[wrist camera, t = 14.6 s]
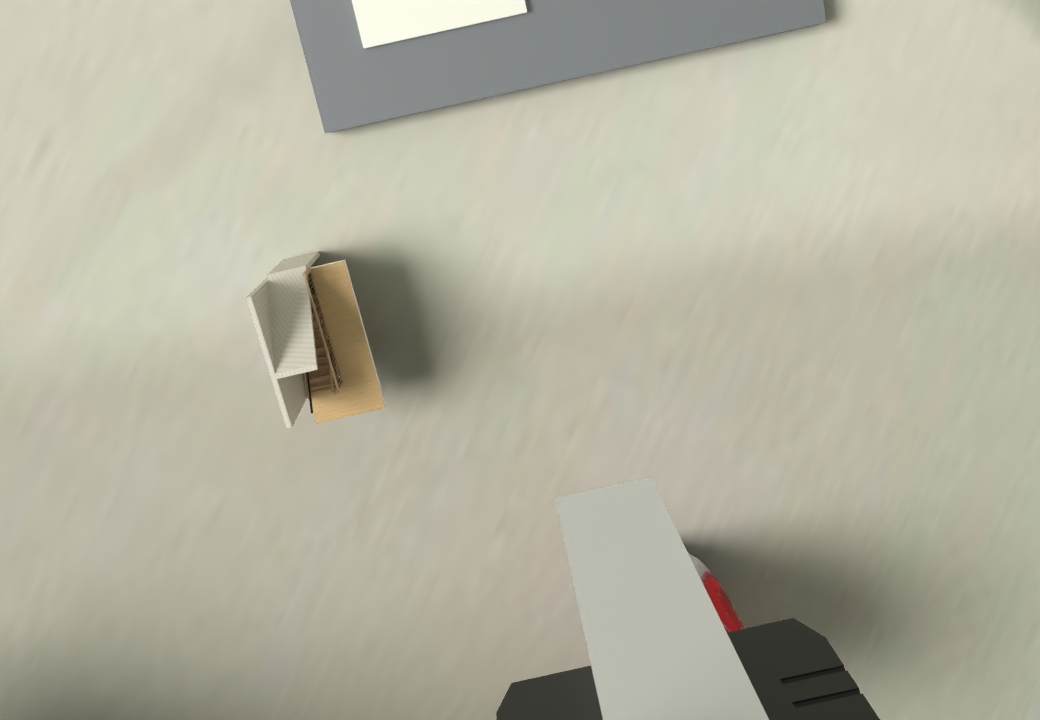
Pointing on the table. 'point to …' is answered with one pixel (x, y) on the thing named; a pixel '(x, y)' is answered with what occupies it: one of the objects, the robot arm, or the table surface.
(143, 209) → the table surface
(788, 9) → the label board
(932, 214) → the table surface
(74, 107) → the table surface
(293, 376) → the architectural model
